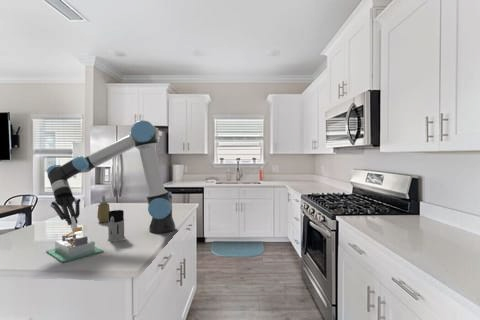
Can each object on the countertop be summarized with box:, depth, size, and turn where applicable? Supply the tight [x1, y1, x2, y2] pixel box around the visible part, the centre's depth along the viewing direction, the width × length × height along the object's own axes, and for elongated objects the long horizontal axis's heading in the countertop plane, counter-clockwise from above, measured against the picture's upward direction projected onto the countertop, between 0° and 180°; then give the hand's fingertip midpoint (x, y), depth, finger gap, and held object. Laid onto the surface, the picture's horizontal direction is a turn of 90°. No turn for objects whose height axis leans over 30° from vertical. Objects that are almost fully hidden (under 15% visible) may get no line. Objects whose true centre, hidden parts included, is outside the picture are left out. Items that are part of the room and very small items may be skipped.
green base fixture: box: [45, 234, 105, 264], centre depth 130 cm, size 22×17×8 cm
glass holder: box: [107, 209, 126, 242], centre depth 147 cm, size 9×14×15 cm, turn 10°
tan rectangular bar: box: [65, 226, 83, 239], centre depth 131 cm, size 14×3×2 cm, turn 50°
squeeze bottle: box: [96, 195, 111, 223], centre depth 190 cm, size 8×8×18 cm
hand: (75, 229), depth 129 cm, fingers closed
